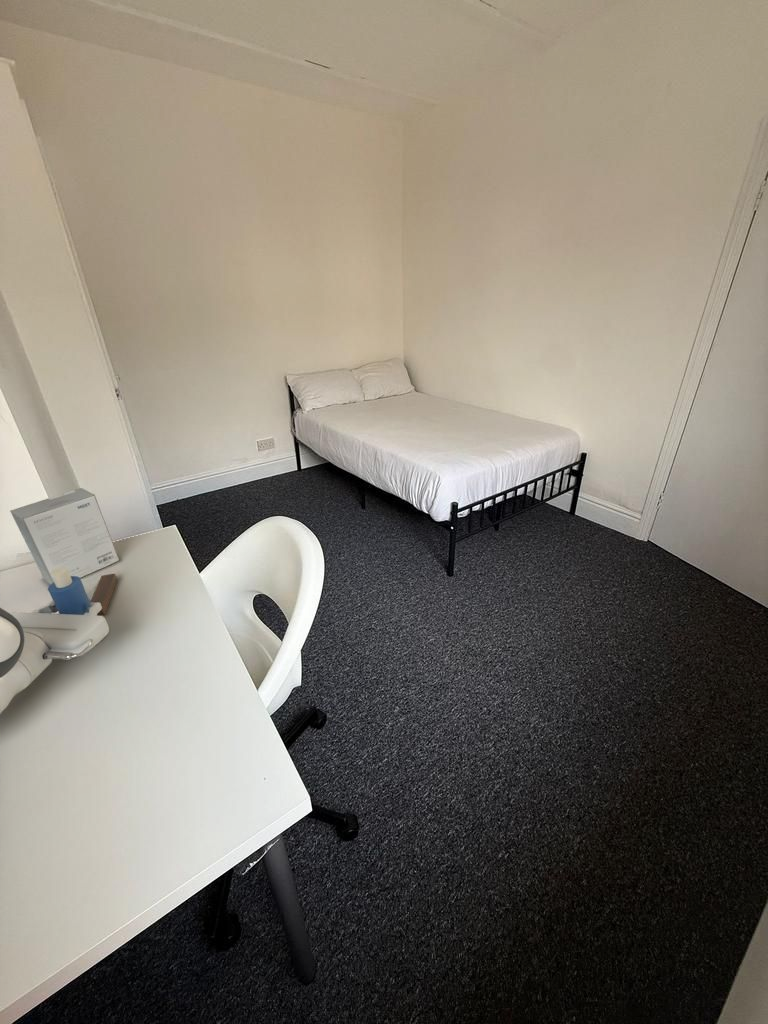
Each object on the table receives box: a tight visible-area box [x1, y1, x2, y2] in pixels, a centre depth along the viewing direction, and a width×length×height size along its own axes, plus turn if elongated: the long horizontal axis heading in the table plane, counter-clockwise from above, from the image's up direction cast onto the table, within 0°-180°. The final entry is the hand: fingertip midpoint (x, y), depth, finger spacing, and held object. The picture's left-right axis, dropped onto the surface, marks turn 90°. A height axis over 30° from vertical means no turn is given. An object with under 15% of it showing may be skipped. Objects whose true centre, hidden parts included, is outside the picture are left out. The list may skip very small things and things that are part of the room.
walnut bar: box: [90, 573, 118, 616], centre depth 98 cm, size 3×14×2 cm, turn 20°
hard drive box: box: [9, 487, 120, 586], centre depth 104 cm, size 16×8×20 cm, turn 144°
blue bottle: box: [47, 567, 91, 615], centre depth 83 cm, size 5×5×17 cm
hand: (77, 604), depth 83 cm, fingers open, 7 cm apart
